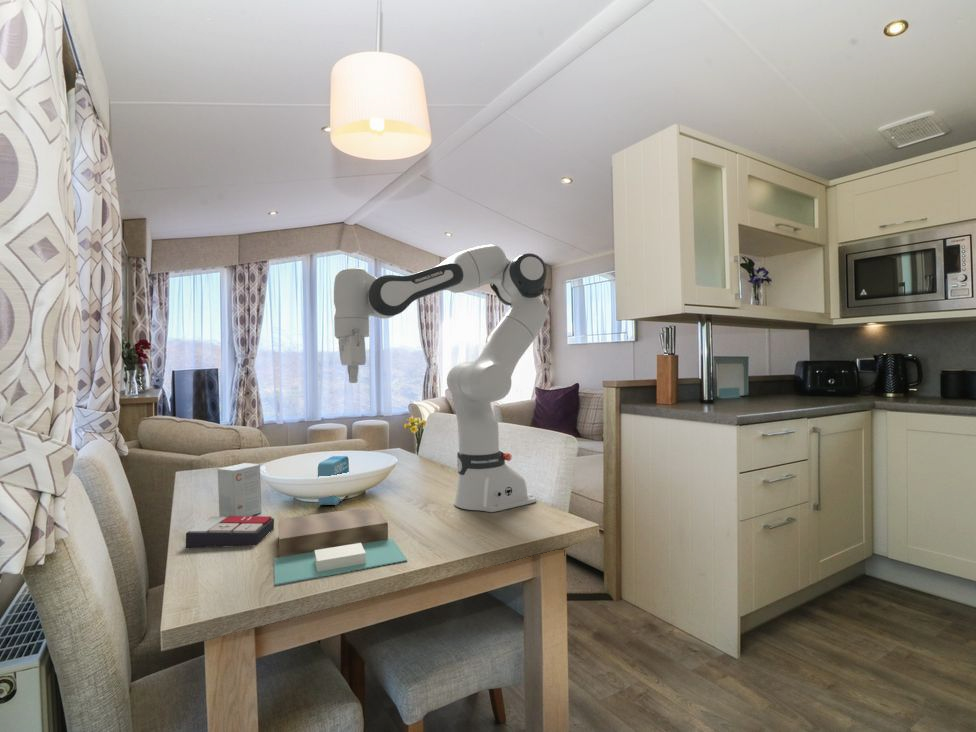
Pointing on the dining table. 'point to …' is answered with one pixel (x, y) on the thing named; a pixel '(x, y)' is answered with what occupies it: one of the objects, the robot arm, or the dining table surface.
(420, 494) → the dining table surface
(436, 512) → the dining table surface
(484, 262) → the robot arm
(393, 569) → the dining table surface
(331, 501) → the data package
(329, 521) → the board
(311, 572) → the mat
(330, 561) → the white rectangular eraser
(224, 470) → the small box
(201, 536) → the calculator
